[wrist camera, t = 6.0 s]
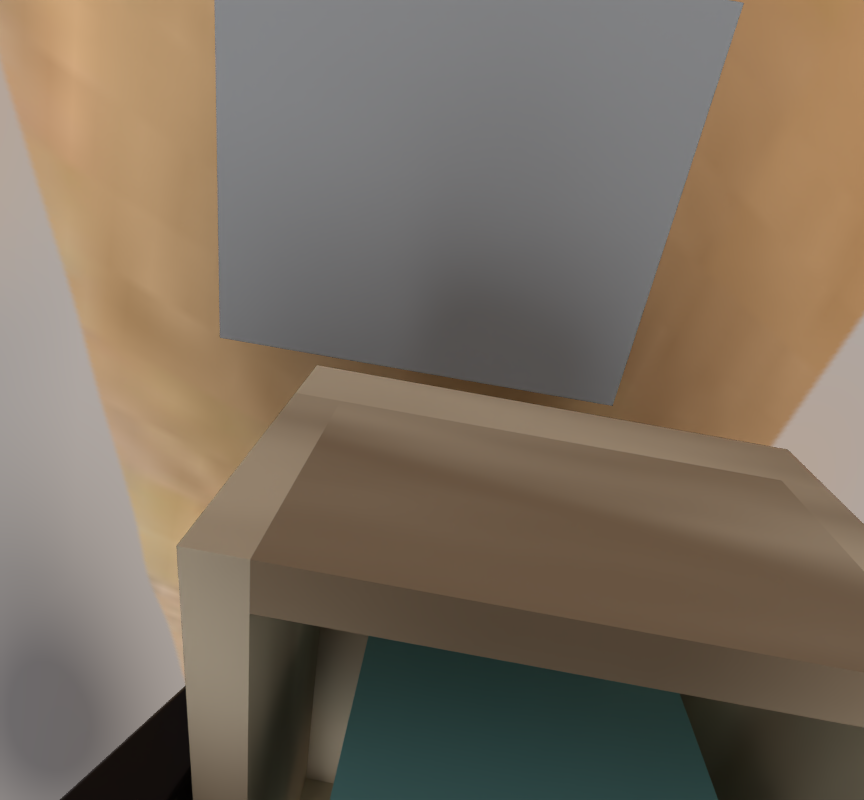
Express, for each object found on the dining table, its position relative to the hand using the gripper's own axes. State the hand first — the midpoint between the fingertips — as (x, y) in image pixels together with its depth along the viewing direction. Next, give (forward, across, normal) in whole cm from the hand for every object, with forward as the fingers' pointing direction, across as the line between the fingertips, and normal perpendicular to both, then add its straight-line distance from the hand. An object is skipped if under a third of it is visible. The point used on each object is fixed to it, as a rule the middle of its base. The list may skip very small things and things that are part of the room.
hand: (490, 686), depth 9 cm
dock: (+12, +2, -6) cm, 13 cm away
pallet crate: (+1, 0, 0) cm, 1 cm away
